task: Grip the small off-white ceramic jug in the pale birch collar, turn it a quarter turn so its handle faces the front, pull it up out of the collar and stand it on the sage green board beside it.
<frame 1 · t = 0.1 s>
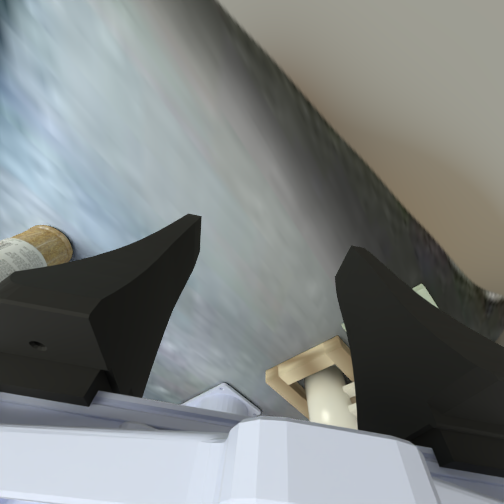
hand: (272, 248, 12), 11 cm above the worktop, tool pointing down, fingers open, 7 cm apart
sprinkles bottle: (54, 243, 25), on the worktop
jug: (336, 401, 28), in the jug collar
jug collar: (323, 377, 31), on the worktop
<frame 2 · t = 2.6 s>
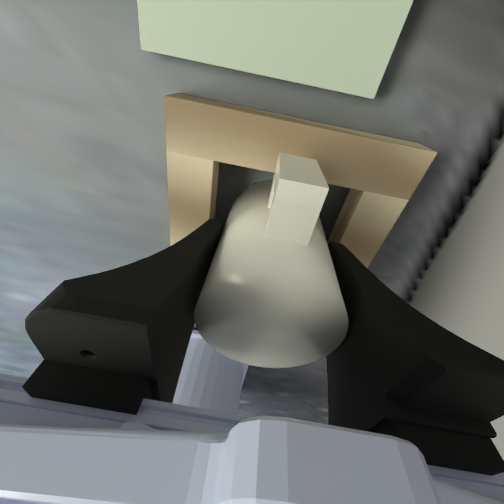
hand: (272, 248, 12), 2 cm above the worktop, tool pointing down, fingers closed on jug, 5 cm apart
jug: (276, 245, 10), in the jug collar, touching gripper
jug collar: (273, 223, 14), on the worktop
when the fingers open (4 cm above the worktop, at t = 8.6 s): jug drops 1 cm, resting on sage board.
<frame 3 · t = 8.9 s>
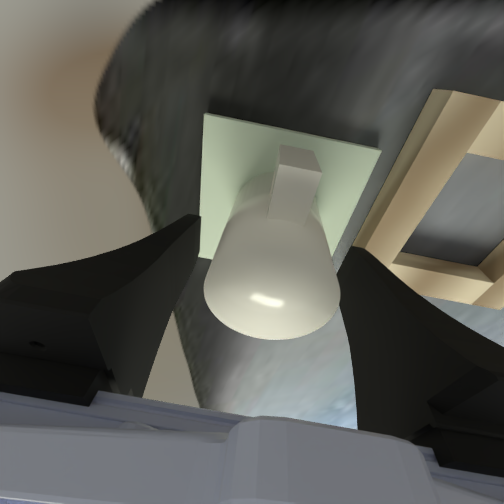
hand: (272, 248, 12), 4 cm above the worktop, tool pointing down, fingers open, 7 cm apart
jug: (277, 229, 11), on the sage board, point 4 cm above the worktop
sage board: (273, 208, 15), on the worktop
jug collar: (464, 214, 14), on the worktop
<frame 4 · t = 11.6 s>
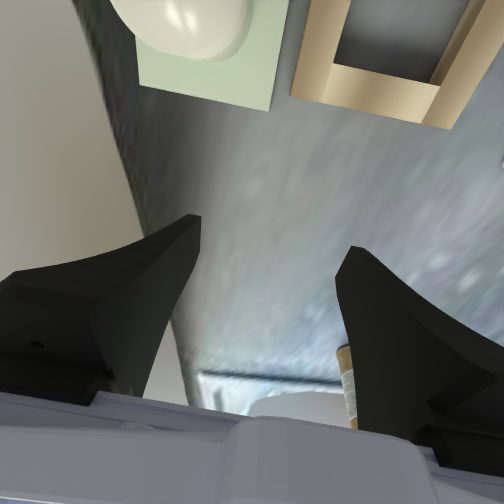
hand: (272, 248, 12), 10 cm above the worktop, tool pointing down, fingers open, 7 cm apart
sprinkles bottle: (351, 351, 34), on the worktop
sage board: (210, 10, 14), on the worktop
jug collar: (406, 3, 14), on the worktop
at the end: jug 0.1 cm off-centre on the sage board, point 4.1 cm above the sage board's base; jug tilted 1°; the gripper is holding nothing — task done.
